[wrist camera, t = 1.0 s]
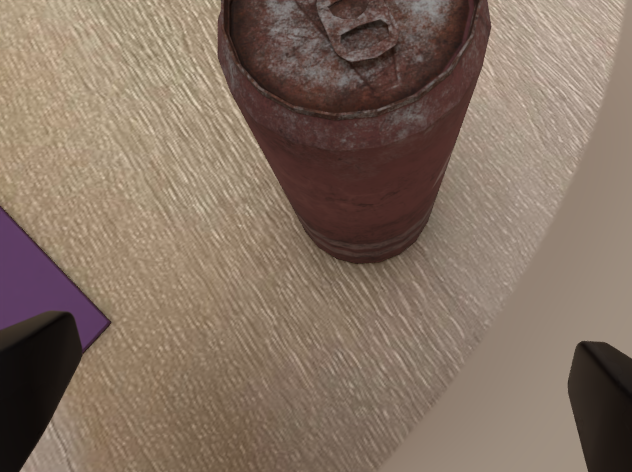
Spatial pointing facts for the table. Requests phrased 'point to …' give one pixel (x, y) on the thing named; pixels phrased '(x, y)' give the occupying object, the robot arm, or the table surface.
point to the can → (355, 107)
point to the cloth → (39, 285)
